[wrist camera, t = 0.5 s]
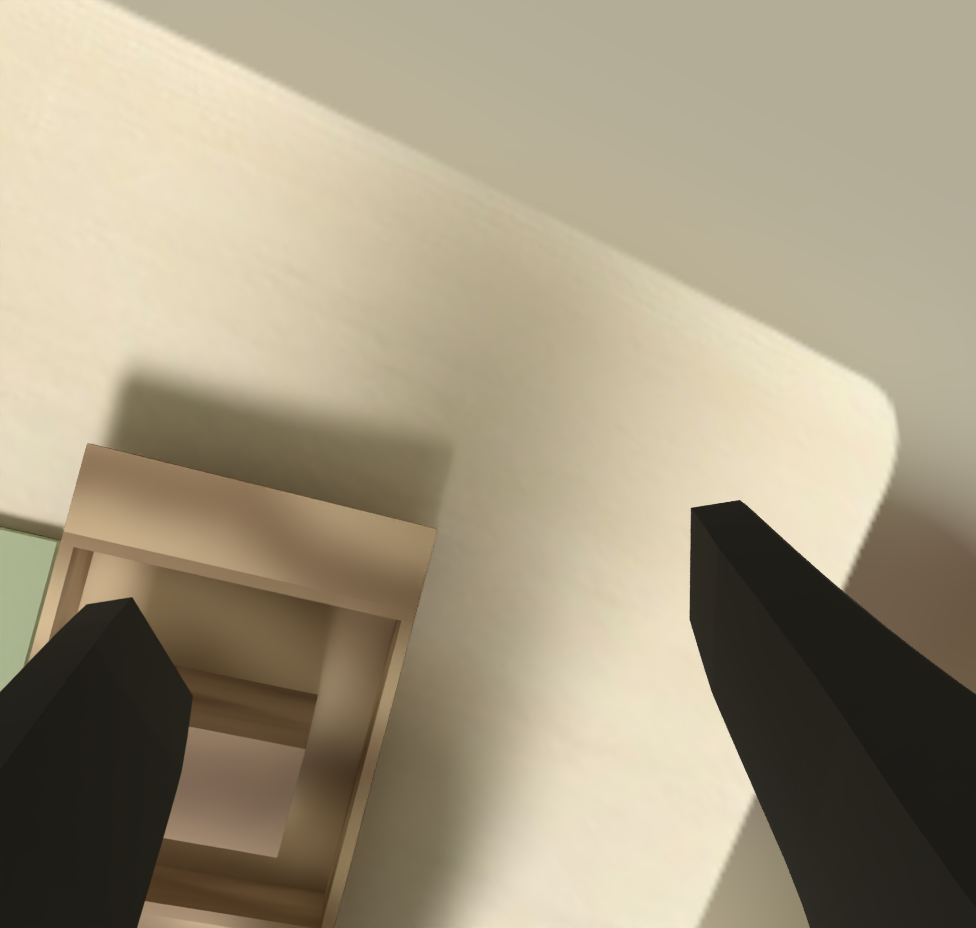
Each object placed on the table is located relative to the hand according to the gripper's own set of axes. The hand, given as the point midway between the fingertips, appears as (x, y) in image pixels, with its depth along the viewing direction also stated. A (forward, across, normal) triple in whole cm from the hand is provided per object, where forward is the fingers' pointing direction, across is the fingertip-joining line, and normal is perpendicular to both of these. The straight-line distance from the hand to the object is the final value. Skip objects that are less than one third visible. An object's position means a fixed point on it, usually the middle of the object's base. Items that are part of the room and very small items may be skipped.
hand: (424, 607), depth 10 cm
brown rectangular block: (+14, +13, +19) cm, 27 cm away
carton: (+14, +13, +19) cm, 27 cm away
